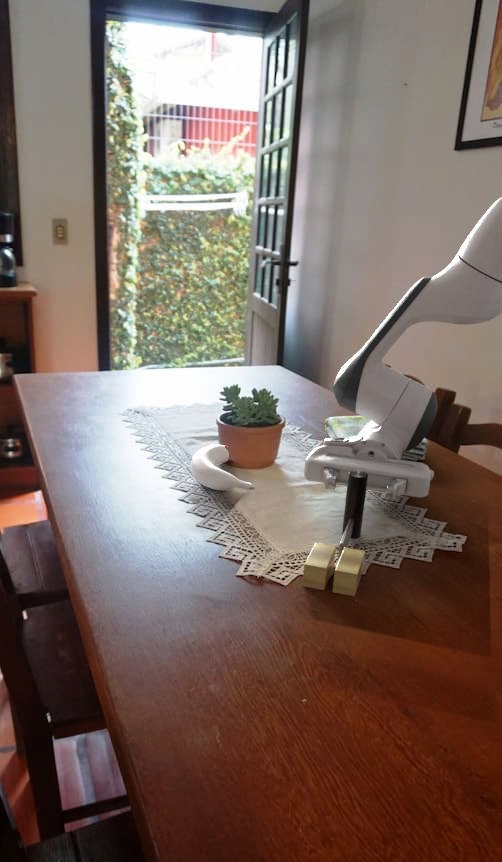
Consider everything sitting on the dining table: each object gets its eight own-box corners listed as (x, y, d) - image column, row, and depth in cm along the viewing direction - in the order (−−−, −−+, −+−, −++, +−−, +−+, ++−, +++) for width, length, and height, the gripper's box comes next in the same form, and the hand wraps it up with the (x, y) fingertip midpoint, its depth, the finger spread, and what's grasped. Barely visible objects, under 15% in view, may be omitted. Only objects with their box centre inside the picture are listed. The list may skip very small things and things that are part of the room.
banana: (209, 454, 140) (279, 464, 136) (176, 492, 124) (254, 504, 120) (209, 432, 138) (280, 441, 134) (176, 467, 121) (255, 479, 118)
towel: (341, 462, 138) (343, 438, 136) (323, 430, 158) (325, 409, 156) (429, 464, 139) (433, 440, 137) (400, 432, 159) (403, 410, 157)
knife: (343, 529, 106) (350, 469, 102) (361, 532, 106) (369, 472, 102) (329, 562, 96) (336, 497, 92) (349, 566, 96) (356, 500, 92)
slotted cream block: (319, 528, 110) (321, 502, 108) (388, 540, 106) (392, 514, 105) (282, 598, 90) (285, 568, 88) (367, 615, 86) (371, 584, 85)
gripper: (432, 487, 116) (426, 519, 104) (313, 470, 122) (295, 498, 110) (437, 452, 113) (432, 480, 101) (316, 436, 119) (297, 461, 107)
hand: (359, 489), depth 106 cm, fingers open, 8 cm apart
